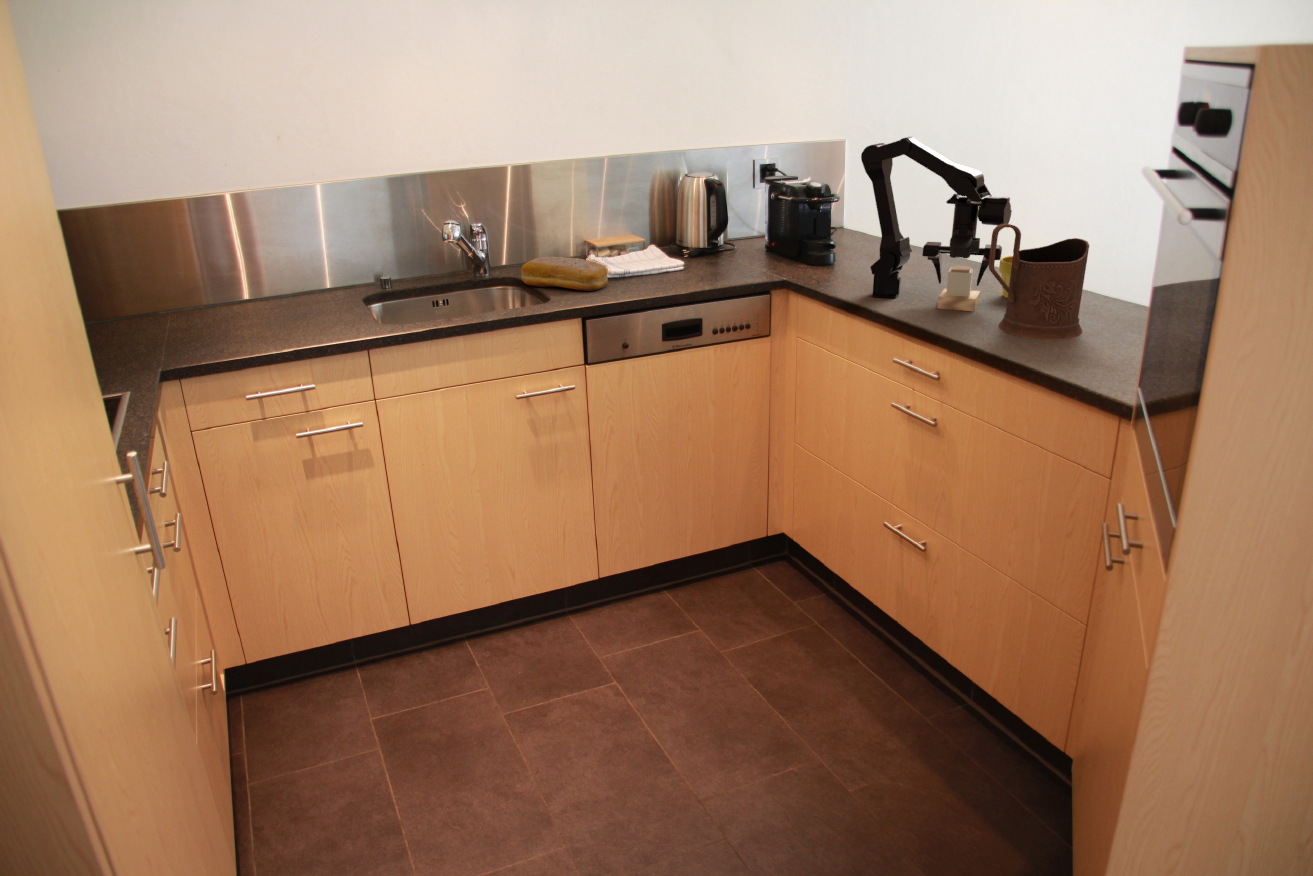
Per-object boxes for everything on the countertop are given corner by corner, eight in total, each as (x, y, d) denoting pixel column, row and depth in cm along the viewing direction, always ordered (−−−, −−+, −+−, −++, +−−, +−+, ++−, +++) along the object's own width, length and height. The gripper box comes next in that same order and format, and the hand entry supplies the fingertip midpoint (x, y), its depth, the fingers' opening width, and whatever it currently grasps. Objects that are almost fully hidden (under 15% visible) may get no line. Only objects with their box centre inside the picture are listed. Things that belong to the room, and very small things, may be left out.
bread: (536, 278, 280) (534, 252, 277) (616, 284, 271) (615, 256, 268) (514, 288, 269) (511, 261, 266) (596, 295, 260) (595, 266, 256)
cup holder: (1100, 335, 212) (1118, 224, 202) (1004, 344, 207) (1018, 231, 197) (1051, 315, 228) (1066, 211, 219) (962, 323, 224) (973, 218, 214)
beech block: (937, 309, 237) (938, 296, 236) (943, 301, 244) (944, 288, 243) (974, 312, 233) (975, 299, 232) (979, 304, 241) (980, 291, 240)
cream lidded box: (946, 295, 236) (948, 269, 234) (947, 290, 241) (950, 265, 239) (969, 296, 234) (971, 270, 232) (970, 291, 239) (973, 266, 237)
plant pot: (1040, 302, 240) (1045, 264, 236) (998, 300, 242) (1003, 263, 238) (1033, 292, 249) (1038, 255, 245) (993, 291, 251) (997, 255, 247)
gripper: (922, 226, 228) (916, 289, 234) (1002, 230, 221) (995, 294, 227) (927, 219, 237) (922, 279, 243) (1005, 222, 231) (997, 284, 237)
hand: (958, 284), depth 237 cm, fingers open, 9 cm apart
